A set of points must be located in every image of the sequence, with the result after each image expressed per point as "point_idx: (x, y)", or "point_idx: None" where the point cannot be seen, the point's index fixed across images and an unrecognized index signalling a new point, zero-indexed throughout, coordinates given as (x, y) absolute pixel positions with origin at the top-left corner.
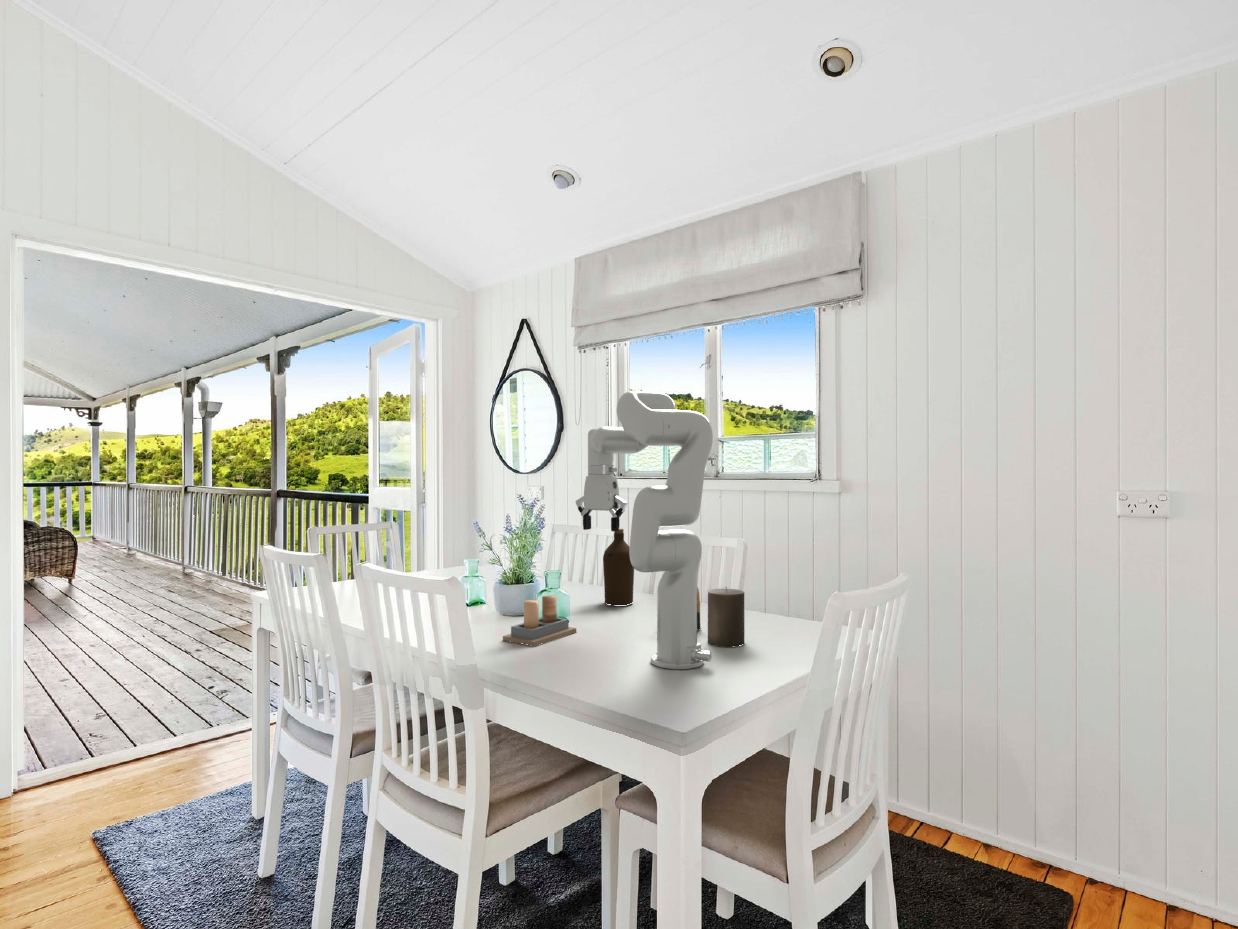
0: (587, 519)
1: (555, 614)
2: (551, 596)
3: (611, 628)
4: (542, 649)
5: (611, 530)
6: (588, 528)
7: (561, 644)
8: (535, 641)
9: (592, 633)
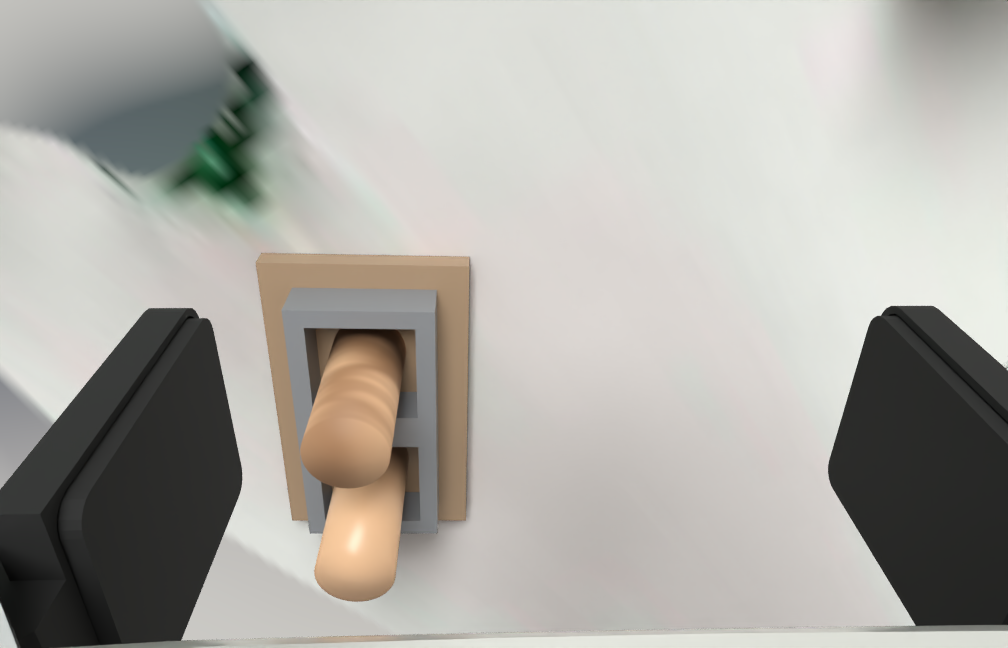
0: (160, 586)
1: (399, 392)
2: (346, 441)
3: (585, 78)
4: (515, 515)
5: (842, 489)
6: (221, 403)
7: (536, 437)
8: (463, 513)
9: (550, 228)
